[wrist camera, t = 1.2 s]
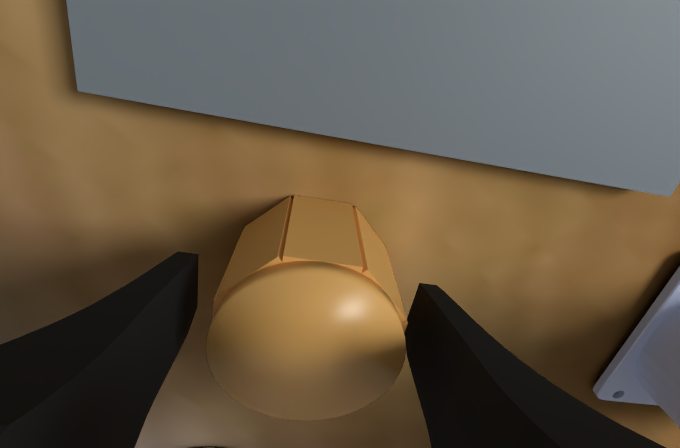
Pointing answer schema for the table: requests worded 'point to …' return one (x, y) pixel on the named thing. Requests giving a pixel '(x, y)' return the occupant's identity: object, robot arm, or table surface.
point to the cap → (307, 314)
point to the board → (413, 75)
